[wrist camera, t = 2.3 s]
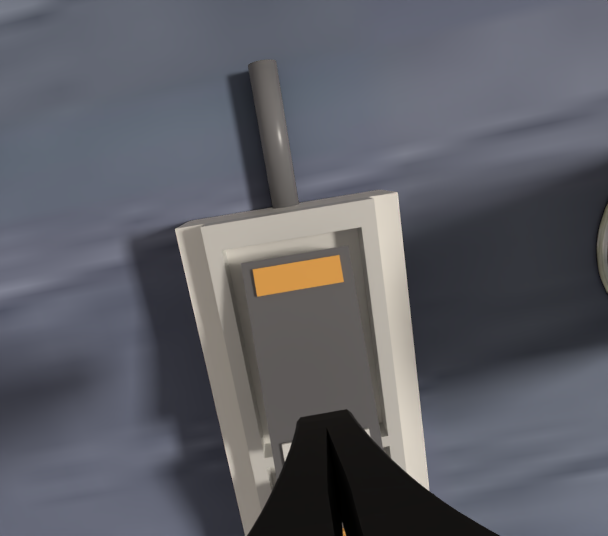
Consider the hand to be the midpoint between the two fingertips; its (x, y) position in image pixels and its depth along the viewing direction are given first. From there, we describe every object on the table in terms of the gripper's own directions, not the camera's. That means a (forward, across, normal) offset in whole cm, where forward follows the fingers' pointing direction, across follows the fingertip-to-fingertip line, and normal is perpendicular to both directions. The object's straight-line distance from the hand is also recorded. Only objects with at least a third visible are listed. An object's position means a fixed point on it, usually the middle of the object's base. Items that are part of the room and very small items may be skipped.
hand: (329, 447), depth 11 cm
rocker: (+6, 0, 0) cm, 6 cm away
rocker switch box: (+10, 0, +2) cm, 11 cm away
